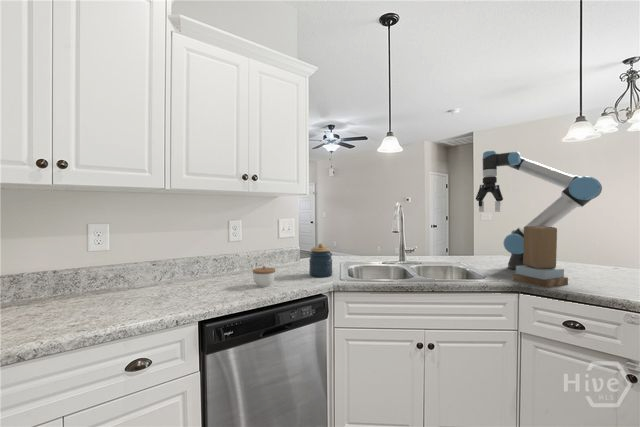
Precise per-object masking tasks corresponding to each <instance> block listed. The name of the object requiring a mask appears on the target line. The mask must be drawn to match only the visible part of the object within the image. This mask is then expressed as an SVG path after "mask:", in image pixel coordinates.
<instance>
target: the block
mask: <svg viewBox="0 0 640 427" xmlns="http://www.w3.org/2000/svg"><path fill="white" fill-rule="evenodd" d="M525 226H526V225H525ZM525 226H523V227H524V251H523V264H524V265H526V266H530V267H533V268H536V269H550V268H557V250H558V249H557V248H558V246H557V244H558V243H557V242H558V241H557V240H558V228H557V227H554V226H552V227H547V226H526V227H525Z"/></svg>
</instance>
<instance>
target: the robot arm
mask: <svg viewBox="0 0 640 427" xmlns="http://www.w3.org/2000/svg"><path fill="white" fill-rule="evenodd" d="M506 166H507V167H509V168H511V169H515V170H517V171H520V172H523V173H525V174H527V175H530V176H532V177H535V178H537V179H541V180H543V181H545V182H548V183H550V184H552V185H555V186H558V187H560V188H563V190H562V191H561V196H559V198H557V199H556V200H555V201H553V202H552V203H551V204H550V205H549V206H547V207H546V208H545V209H544V210H543V211H542V212H540V213H539V214H538V215H537V216H535V218H533V219H532V220H530V222H528V223H527V224H526V225H525V226H519V227H518V228H517V229H515V230H511V233H509V234H508V235H506V237H504V239H503V248H504V250H506V251H507V252H508V253H510V254H511V255H510V258H509V260H508V263H507V268H508V269H510V270H516V266H521V265H524V264H523V251H524V227H526V226H547V227H554V226H555V225H556V224H557V223H558V222H560V220H562V219H563V218H565V217H566V216H567V215H568V214H570V213H571V212H573V210H575V209H576V208H583V207H584V206H585V205H587V204H588V203H590V201H592V200H593V199H596V198H597V197H598V196H600V195H601V193H602V189H603V187H602V184H601V182H600V181H599V180H598V179H597V178H595V177H592V176H590V175H584V176H580V175H577V174H575V175H572V174H569V173H565V172H563V171H560V170H558V169H555V168H552V167H549V166H547V165H544V164H541V163H539V162H537V161H532V160H529V159H527V158H524V157H522V155H521V153H520V152H519V151H511V152H503V153H501V152H500V153H498V152H497V150H488V151H484V152H483V153H482V177H483V178H482V184H480V185H479V189H478V191H477V194H476V196H475V200H476V201H477V202H478V212H479V213H481V212H482V213H484V212H485V210H484V209H485V207H484V206H485V200H484V199H485V197H486V196H487V194H488V193H491V195H492V196H493V198H494V199H495V201H494V211H495V212H498V213H499V212H501V202H502V201H503V200H504V198H503V194H502V192H501V188H500V185H499V184H497V182H498V180H497V175H498V174H497V173H498V170H497V169H498V168H497V167H506Z"/></svg>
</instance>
